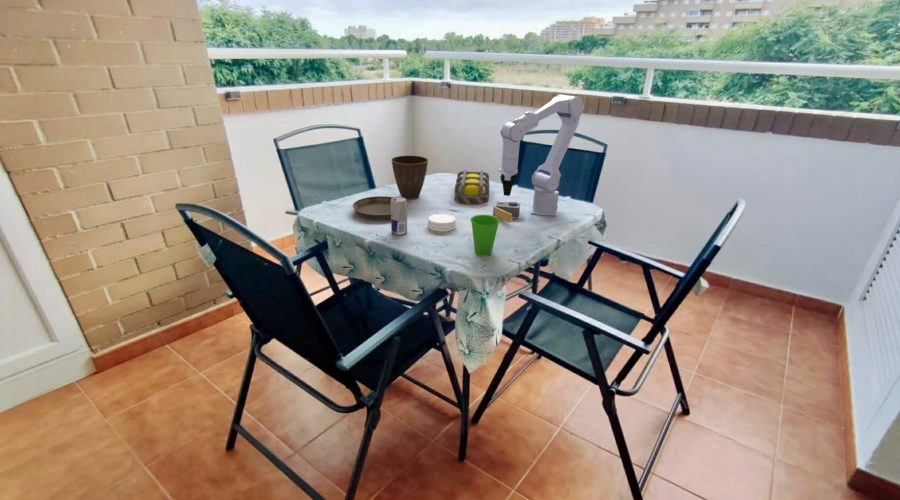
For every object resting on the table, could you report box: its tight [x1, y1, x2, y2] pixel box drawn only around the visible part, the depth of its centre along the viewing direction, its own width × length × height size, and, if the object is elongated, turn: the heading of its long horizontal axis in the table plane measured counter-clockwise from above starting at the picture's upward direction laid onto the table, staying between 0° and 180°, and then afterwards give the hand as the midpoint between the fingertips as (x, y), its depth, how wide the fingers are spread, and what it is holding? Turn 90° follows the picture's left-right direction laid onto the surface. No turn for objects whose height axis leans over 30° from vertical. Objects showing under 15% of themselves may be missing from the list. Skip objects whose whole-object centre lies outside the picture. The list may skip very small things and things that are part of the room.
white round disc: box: [427, 213, 457, 233], centre depth 154 cm, size 10×10×4 cm
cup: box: [469, 214, 501, 257], centre depth 133 cm, size 9×9×11 cm
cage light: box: [453, 169, 490, 206], centre depth 188 cm, size 15×8×30 cm
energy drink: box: [390, 196, 408, 236], centre depth 146 cm, size 5×5×12 cm
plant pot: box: [391, 155, 429, 200], centre depth 181 cm, size 15×15×16 cm
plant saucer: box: [352, 195, 394, 221], centre depth 166 cm, size 21×21×3 cm
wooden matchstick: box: [492, 205, 513, 224], centre depth 160 cm, size 10×1×3 cm, turn 34°
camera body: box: [492, 200, 521, 219], centre depth 166 cm, size 10×7×5 cm
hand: (507, 194), depth 159 cm, fingers closed
